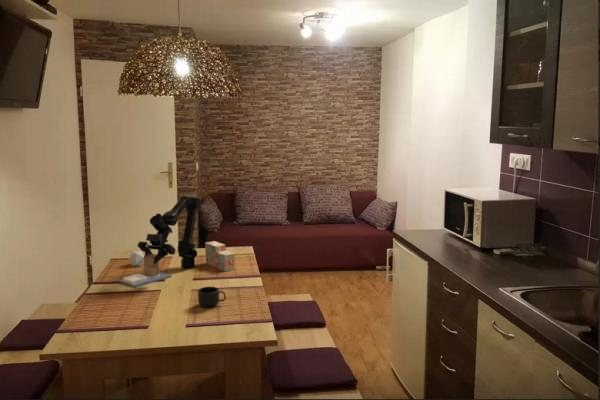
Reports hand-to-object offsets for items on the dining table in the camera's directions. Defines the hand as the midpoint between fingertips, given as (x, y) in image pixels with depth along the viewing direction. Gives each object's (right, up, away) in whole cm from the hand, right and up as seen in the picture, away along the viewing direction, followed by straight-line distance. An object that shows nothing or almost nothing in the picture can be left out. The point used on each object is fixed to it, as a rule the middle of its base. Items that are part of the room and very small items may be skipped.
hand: (149, 262), depth 246 cm
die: (-18, -6, +38) cm, 43 cm away
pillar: (0, -6, +2) cm, 7 cm away
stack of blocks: (+28, -7, +37) cm, 47 cm away
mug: (+34, -16, -22) cm, 43 cm away
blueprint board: (-6, -10, +14) cm, 18 cm away
